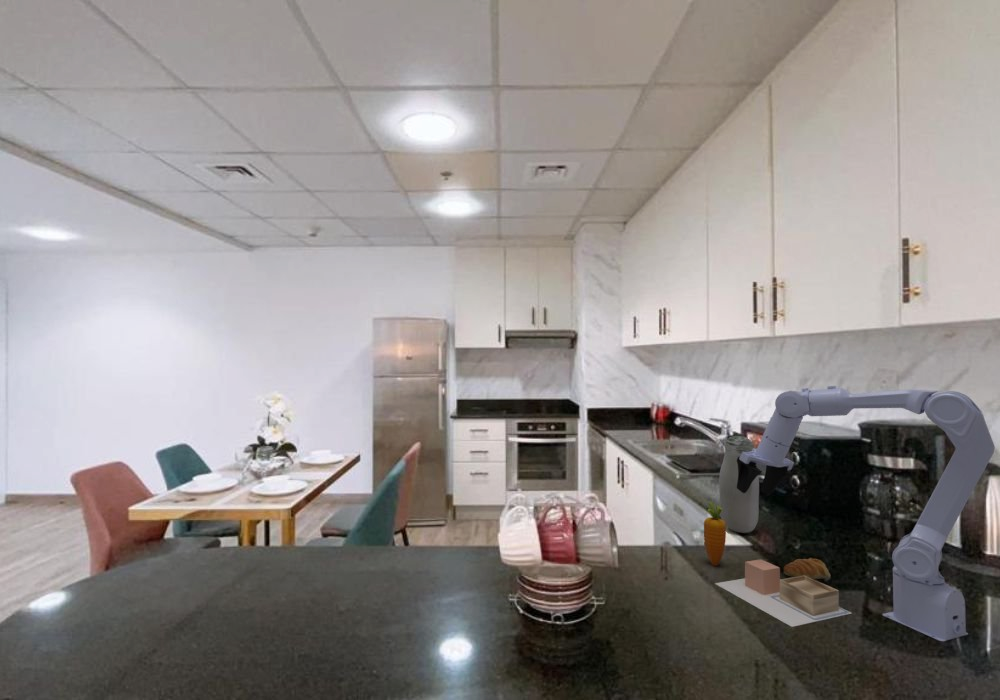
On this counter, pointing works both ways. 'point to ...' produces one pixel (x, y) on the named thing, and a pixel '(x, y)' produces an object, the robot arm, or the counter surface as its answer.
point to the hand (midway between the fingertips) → (752, 491)
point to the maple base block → (809, 595)
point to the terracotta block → (762, 577)
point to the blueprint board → (776, 604)
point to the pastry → (807, 569)
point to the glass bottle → (736, 505)
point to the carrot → (714, 535)
